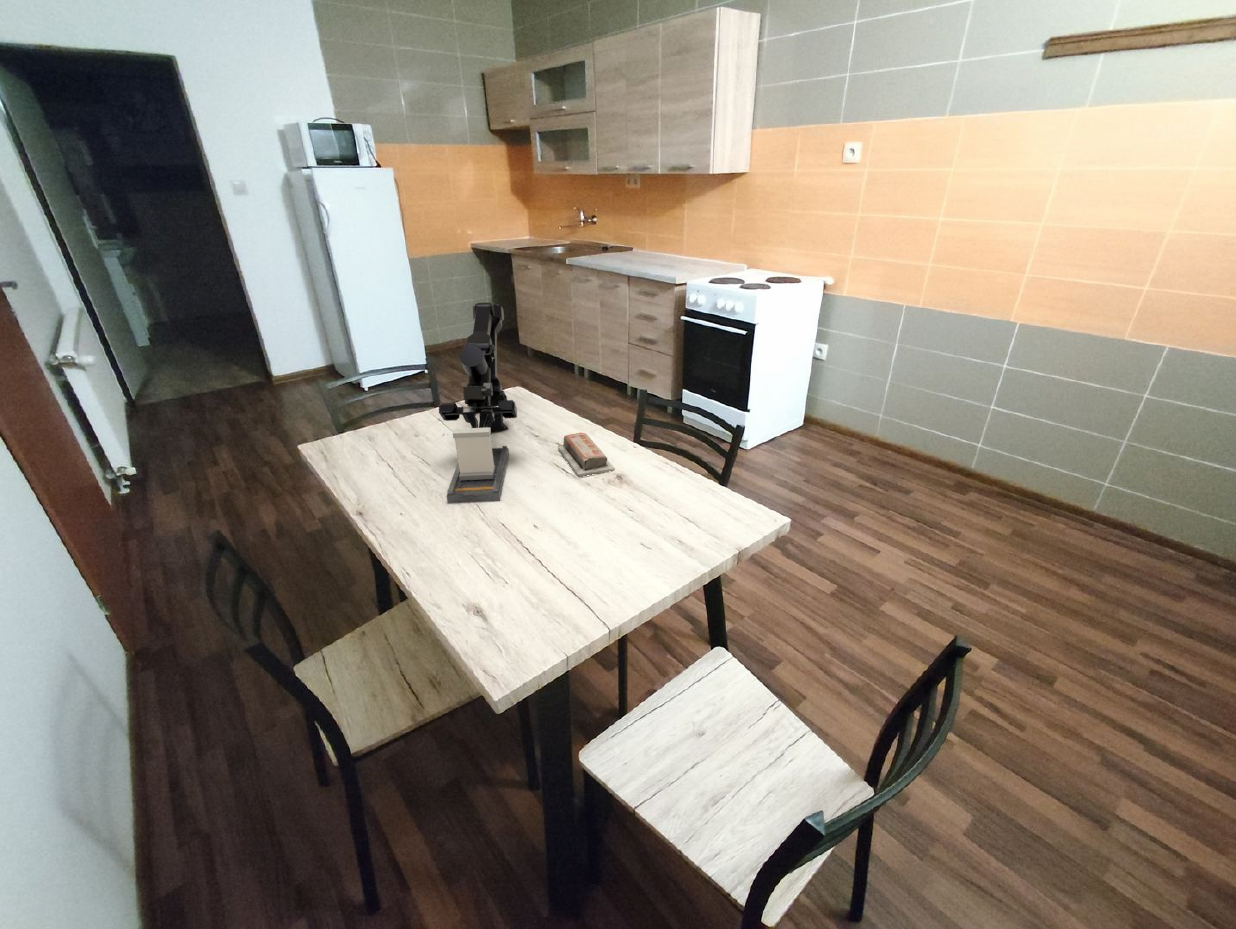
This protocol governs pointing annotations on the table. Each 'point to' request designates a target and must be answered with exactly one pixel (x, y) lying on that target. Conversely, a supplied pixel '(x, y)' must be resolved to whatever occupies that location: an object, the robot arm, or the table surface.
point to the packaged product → (584, 455)
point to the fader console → (480, 482)
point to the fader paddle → (474, 453)
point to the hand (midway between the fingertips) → (478, 442)
